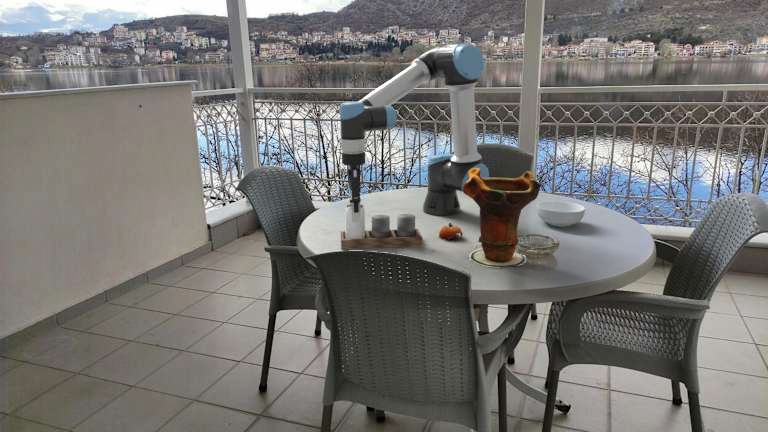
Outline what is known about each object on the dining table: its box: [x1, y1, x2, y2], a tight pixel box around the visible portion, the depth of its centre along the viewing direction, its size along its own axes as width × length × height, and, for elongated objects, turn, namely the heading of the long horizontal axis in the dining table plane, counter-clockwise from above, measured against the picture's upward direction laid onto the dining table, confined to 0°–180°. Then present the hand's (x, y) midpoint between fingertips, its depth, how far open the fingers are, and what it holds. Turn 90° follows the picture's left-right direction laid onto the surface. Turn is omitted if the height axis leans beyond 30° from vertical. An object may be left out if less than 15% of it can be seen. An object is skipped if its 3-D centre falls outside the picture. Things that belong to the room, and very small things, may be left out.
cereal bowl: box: [536, 200, 586, 228], centre depth 197 cm, size 17×17×7 cm
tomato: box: [438, 222, 463, 242], centre depth 182 cm, size 8×7×7 cm
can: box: [344, 203, 366, 239], centre depth 175 cm, size 6×6×12 cm
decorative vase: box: [462, 168, 542, 269], centre depth 160 cm, size 21×23×28 cm
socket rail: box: [340, 213, 423, 250], centre depth 176 cm, size 27×9×9 cm, turn 96°
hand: (355, 215), depth 174 cm, fingers open, 13 cm apart
